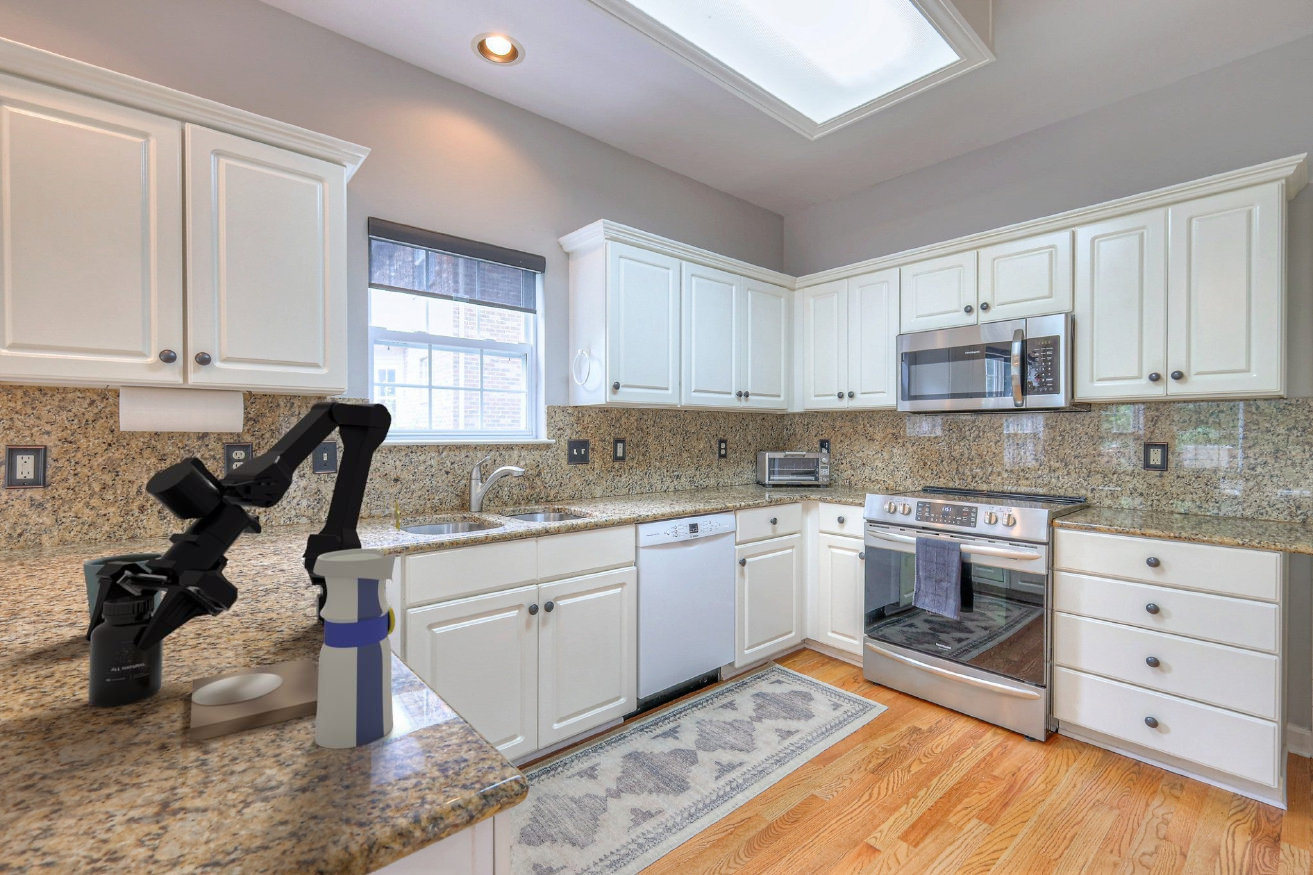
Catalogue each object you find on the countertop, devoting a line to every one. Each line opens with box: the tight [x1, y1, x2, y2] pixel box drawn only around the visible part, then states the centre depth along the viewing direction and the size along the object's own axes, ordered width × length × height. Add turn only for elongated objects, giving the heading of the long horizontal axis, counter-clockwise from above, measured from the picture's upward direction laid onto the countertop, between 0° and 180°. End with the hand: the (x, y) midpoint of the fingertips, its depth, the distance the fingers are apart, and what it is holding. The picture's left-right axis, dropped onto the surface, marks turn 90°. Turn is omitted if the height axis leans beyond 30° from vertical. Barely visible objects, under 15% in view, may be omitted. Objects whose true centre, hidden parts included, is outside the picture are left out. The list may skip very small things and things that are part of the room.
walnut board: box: [189, 657, 318, 744], centre depth 73 cm, size 13×16×2 cm
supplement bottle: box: [88, 595, 164, 708], centre depth 74 cm, size 7×7×12 cm
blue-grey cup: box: [82, 552, 165, 622], centre depth 99 cm, size 10×10×12 cm
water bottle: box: [313, 501, 401, 750], centre depth 66 cm, size 8×9×25 cm
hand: (114, 645), depth 73 cm, fingers open, 9 cm apart
